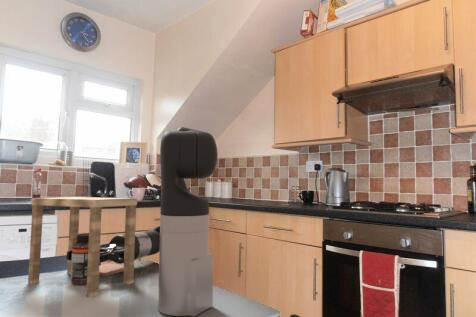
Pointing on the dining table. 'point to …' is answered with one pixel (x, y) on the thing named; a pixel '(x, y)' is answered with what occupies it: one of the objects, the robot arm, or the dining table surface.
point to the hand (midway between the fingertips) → (79, 257)
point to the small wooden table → (94, 235)
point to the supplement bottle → (80, 260)
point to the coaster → (110, 269)
